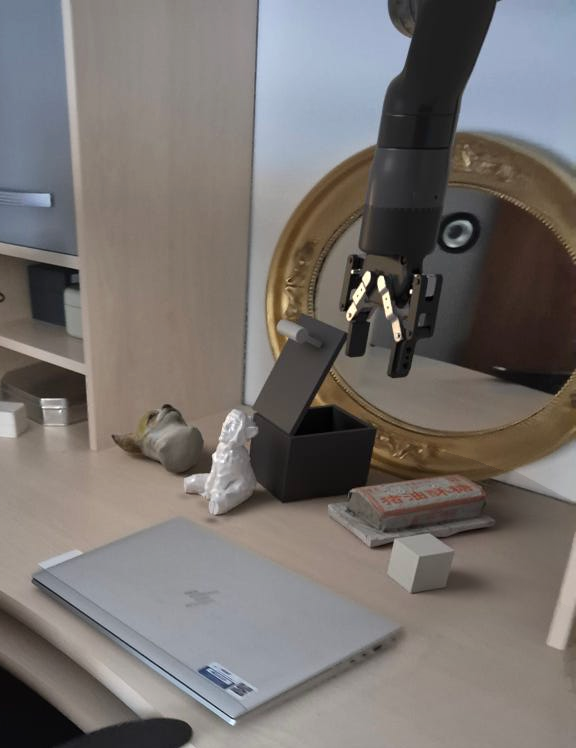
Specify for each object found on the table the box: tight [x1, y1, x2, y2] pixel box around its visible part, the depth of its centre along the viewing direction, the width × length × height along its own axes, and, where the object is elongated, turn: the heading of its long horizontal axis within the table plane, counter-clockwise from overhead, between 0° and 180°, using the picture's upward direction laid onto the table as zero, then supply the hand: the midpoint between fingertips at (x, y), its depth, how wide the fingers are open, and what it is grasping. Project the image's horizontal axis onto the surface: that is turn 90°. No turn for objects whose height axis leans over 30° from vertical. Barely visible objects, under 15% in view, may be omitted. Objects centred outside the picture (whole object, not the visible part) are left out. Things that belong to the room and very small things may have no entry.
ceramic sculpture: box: [110, 403, 205, 473], centre depth 121 cm, size 11×9×15 cm
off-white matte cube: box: [386, 533, 456, 594], centre depth 92 cm, size 4×4×4 cm
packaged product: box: [327, 473, 496, 548], centre depth 104 cm, size 18×5×10 cm
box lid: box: [251, 312, 348, 436], centre depth 106 cm, size 13×11×5 cm
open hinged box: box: [248, 403, 378, 504], centre depth 114 cm, size 13×11×9 cm
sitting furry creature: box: [183, 408, 258, 516], centre depth 109 cm, size 10×9×12 cm
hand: (374, 366), depth 92 cm, fingers open, 8 cm apart
